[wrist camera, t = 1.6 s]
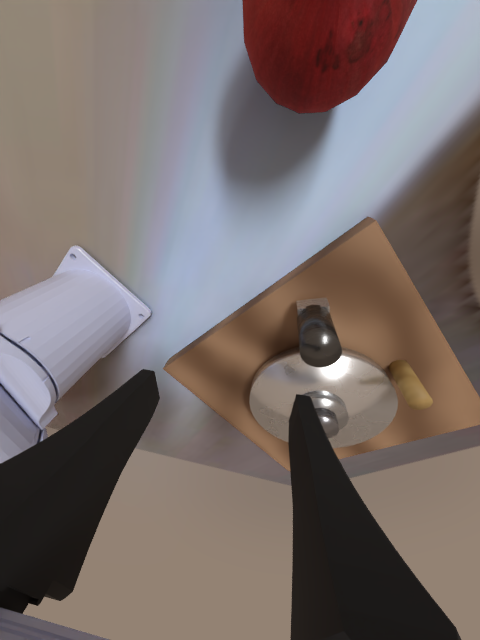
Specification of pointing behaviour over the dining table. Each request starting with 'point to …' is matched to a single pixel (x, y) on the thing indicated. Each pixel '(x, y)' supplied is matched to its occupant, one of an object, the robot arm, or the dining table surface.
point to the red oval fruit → (320, 47)
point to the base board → (353, 332)
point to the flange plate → (324, 383)
